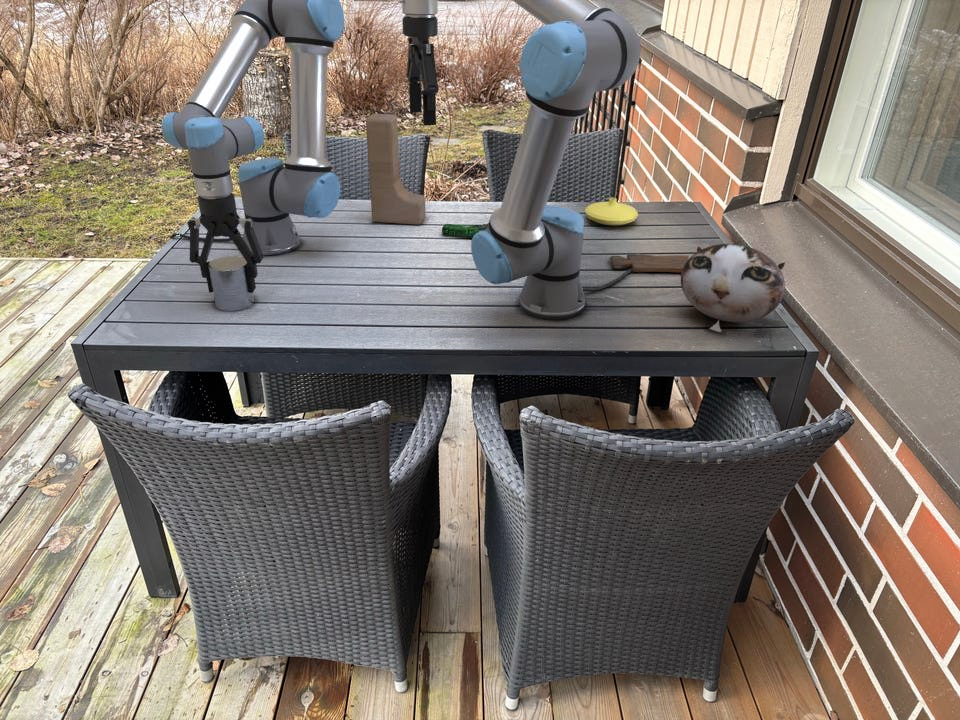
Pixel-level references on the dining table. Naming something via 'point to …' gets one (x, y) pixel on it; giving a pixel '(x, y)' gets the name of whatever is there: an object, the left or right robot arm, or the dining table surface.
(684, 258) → the dark wooden board
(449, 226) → the handgun
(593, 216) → the yellow knobbed lid
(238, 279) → the can
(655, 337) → the dining table surface
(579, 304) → the right robot arm
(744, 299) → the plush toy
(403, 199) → the decorative block
